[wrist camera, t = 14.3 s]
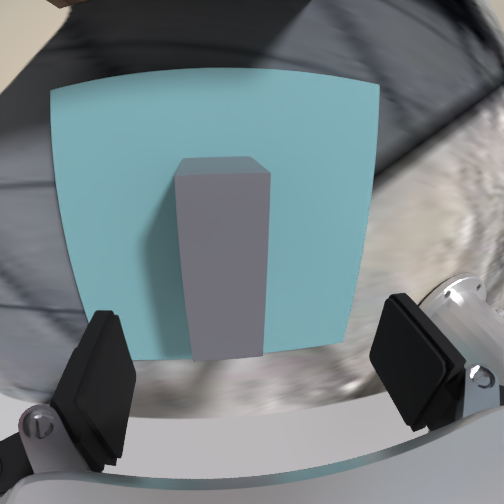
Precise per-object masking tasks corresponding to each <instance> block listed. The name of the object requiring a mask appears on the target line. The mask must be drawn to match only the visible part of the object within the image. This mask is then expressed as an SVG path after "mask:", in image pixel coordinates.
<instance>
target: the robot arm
mask: <svg viewBox="0 0 504 504" xmlns="http://www.w3.org/2000/svg"><path fill="white" fill-rule="evenodd" d="M503 317H504V311H503V309H501V308H500V309H497V310H494V309H493V308H492V307H491V306H489V305H488V304H487V303H486V288H485V285H484V283H483V281H482V280H481V279H479V278H478V277H477V276H475V275H474V274H471V273H463V274H459V275H456V276H454V277H452V278H450V279H448V280H447V281H445V282H444V283H442V284H441V285H440V286H439V287H437V288H436V289H435V290H434V291H433V292H432V293H431V294H430V295H429V296H428V297H427V298H426V299H425V300H424V301H423V302H422V304H421V305H420V306H419V307H418V305H417V304H416V303H415V302H414V301H413V300H412V299H411V298H410V297H409V296H408V295H407V294H406V293H399V294H392V295H390V296H389V298H388V299H386V301H385V303H384V307H383V311H382V314H381V318H380V321H379V325H378V328H377V331H376V335H375V338H374V341H373V344H372V347H371V350H370V354H369V357H370V361H371V363H372V365H373V367H374V369H375V370H376V372H377V374H378V375H379V377H380V379H381V381H382V382H383V384H384V386H385V388H386V389H387V391H388V393H389V395H390V397H391V398H392V400H393V402H394V404H395V405H396V407H397V409H398V411H399V413H400V414H401V416H402V418H403V420H404V422H405V423H406V425H408V426H410V427H411V429H412V431H413V432H415V431H418V430H420V429H423V428H425V427H426V425H427V427H428V428H429V431H428V433H427V434H425V435H423V436H420V437H418V438H415V439H412V440H409V441H407V442H404V443H401V444H398V445H396V446H393V447H390V448H387V449H384V450H381V451H377V452H374V453H371V454H367V455H364V456H360V457H357V458H353V459H349V460H346V461H341V462H337V463H333V464H328V465H324V466H319V467H314V468H309V469H304V470H298V471H292V472H285V473H278V474H270V475H262V476H252V477H240V478H223V479H167V478H149V477H136V476H126V475H117V474H107V473H103V472H102V471H103V470H104V465H105V464H106V465H113V466H116V461H117V458H121V456H122V452H123V445H124V440H125V434H126V428H127V422H128V417H129V412H130V407H131V402H132V397H133V392H134V387H135V382H136V371H135V368H134V365H133V362H132V359H131V356H130V352H129V349H128V346H127V343H126V339H125V336H124V332H123V329H122V325H121V322H120V318H119V316H118V315H114V312H113V311H112V310H96V311H95V312H94V314H93V316H92V318H91V320H90V322H89V324H88V326H87V328H86V330H85V332H84V334H83V336H82V338H81V341H80V343H79V345H78V347H77V348H75V349H74V351H73V353H72V355H71V357H70V359H69V361H68V364H67V366H66V368H65V370H64V373H63V375H62V377H61V379H60V382H59V384H58V386H57V389H56V391H55V394H54V396H53V398H52V401H51V403H50V406H47V405H44V404H42V405H35V406H32V407H30V408H28V409H27V410H25V412H24V413H23V414H22V415H21V417H20V419H19V424H18V428H19V432H17V433H15V434H13V435H12V436H10V437H8V438H6V439H4V440H2V441H0V504H504V318H503Z"/></svg>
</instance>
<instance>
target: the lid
mask: <svg viewBox="0 0 504 504" xmlns="http://www.w3.org/2000/svg"><path fill="white" fill-rule="evenodd" d="M50 111H51V136H52V150H53V162H54V171H55V179H56V187H57V194H58V201H59V207H60V213H61V218H62V224H63V229H64V234H65V238H66V243H67V248H68V252H69V256H70V260H71V264H72V268H73V272H74V276H75V279H76V283H77V287H78V290H79V293H80V297H81V300H82V303H83V307H84V310H85V313H86V316H87V319H88V322H90V320H91V318H92V316H93V314H94V312H95V311H96V310H112V311H113V312H114V315H118V316H119V318H120V322H121V325H122V329H123V332H124V336H125V339H126V343H127V346H128V349H129V352H130V356H131V359H132V360H171V359H193V361H211V360H225V359H238V358H249V357H259V356H263V353H269V352H278V351H286V350H294V349H301V348H308V347H315V346H322V345H328V344H334V343H340V342H343V339H344V335H345V331H346V328H347V323H348V319H349V315H350V311H351V307H352V302H353V298H354V293H355V288H356V284H357V279H358V274H359V269H360V264H361V258H362V253H363V247H364V241H365V235H366V229H367V223H368V216H369V209H370V202H371V194H372V186H373V177H374V167H375V157H376V145H377V131H378V114H379V85H377V84H372V83H368V82H363V81H358V80H353V79H347V78H341V77H335V76H329V75H322V74H314V73H306V72H297V71H287V70H274V69H257V68H192V69H175V70H162V71H152V72H143V73H135V74H127V75H121V76H114V77H108V78H103V79H97V80H92V81H87V82H83V83H78V84H74V85H69V86H65V87H61V88H57V89H54V90H50Z"/></svg>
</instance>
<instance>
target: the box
mask: <svg viewBox="0 0 504 504" xmlns="http://www.w3.org/2000/svg"><path fill="white" fill-rule="evenodd" d="M47 1H49V2H50V3H52V4H53V5H55V6H56V7H58V8H63V7H67V6H70V5H73V4H77V3H80V2H84V1H88V0H47Z"/></svg>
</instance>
